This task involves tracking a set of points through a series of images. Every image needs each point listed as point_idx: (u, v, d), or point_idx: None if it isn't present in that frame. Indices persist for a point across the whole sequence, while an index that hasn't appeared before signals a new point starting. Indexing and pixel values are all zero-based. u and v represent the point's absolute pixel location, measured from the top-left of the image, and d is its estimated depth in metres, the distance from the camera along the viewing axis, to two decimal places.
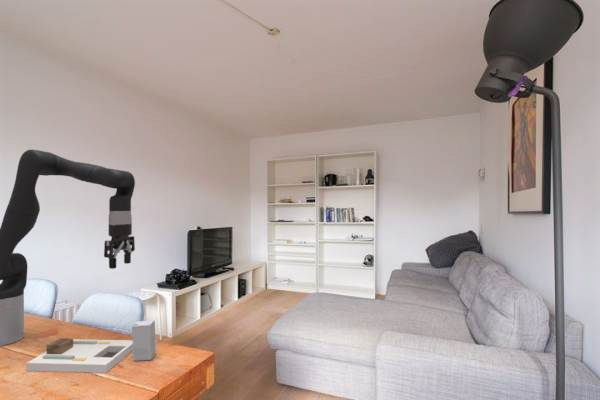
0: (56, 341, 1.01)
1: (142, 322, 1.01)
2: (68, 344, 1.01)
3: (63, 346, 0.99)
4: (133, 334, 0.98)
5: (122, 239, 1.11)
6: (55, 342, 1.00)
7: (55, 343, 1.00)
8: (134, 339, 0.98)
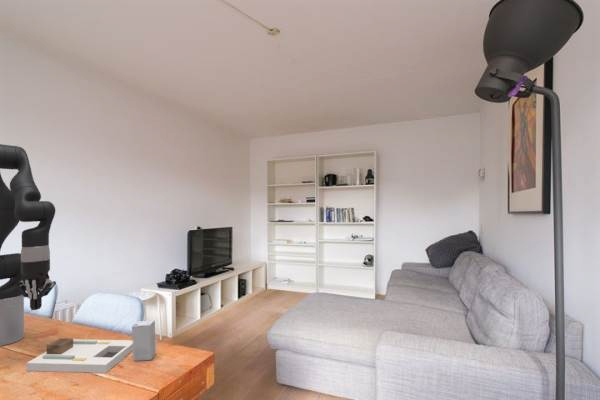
0: (56, 341, 1.01)
1: (142, 322, 1.01)
2: (68, 344, 1.01)
3: (63, 346, 0.99)
4: (133, 334, 0.98)
5: None
6: (55, 342, 1.00)
7: (55, 343, 1.00)
8: (134, 339, 0.98)
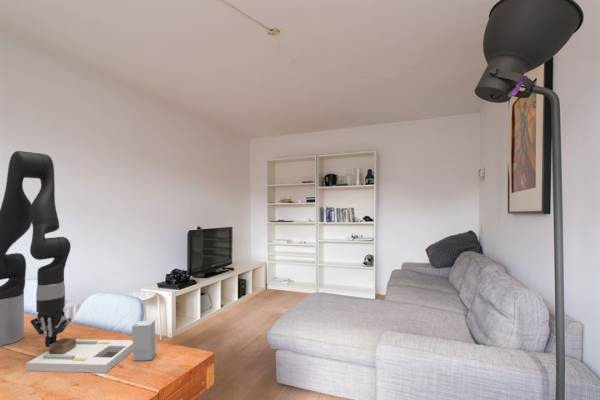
0: (59, 341, 1.01)
1: (142, 322, 1.01)
2: (70, 344, 1.01)
3: (65, 346, 0.99)
4: (133, 334, 0.98)
5: None
6: (58, 342, 1.00)
7: (58, 343, 1.00)
8: (134, 339, 0.98)
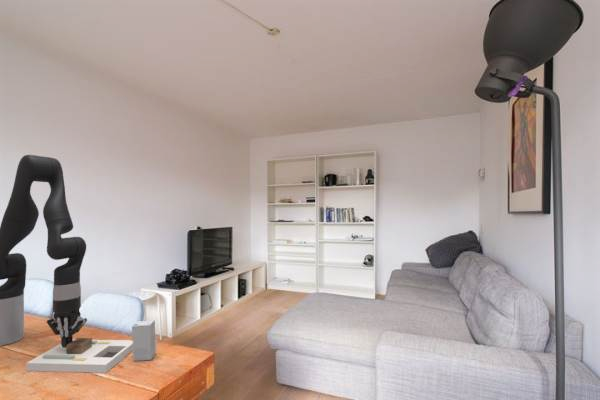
0: (75, 341, 1.01)
1: (142, 322, 1.01)
2: (87, 344, 1.02)
3: (83, 346, 0.99)
4: (133, 334, 0.98)
5: None
6: (74, 342, 1.00)
7: (75, 343, 1.00)
8: (134, 339, 0.98)
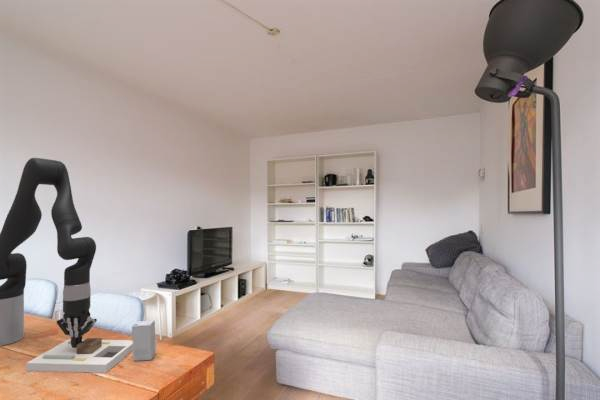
0: (85, 341, 1.01)
1: (142, 322, 1.01)
2: (97, 344, 1.02)
3: (93, 346, 1.00)
4: (133, 334, 0.98)
5: None
6: (84, 342, 1.00)
7: (85, 343, 1.00)
8: (134, 339, 0.98)
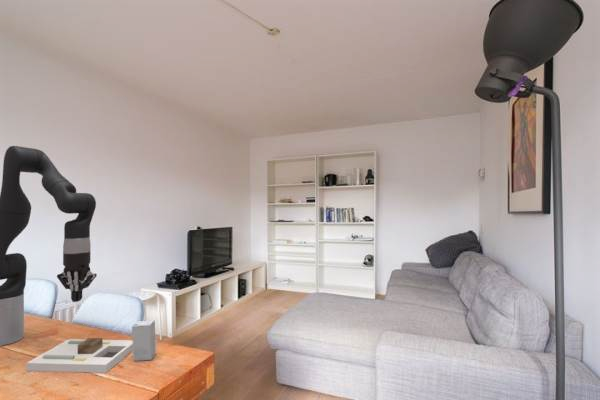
0: (86, 341, 1.01)
1: (142, 322, 1.01)
2: (98, 344, 1.02)
3: (94, 346, 1.00)
4: (133, 334, 0.98)
5: None
6: (85, 342, 1.00)
7: (86, 343, 1.00)
8: (134, 339, 0.98)
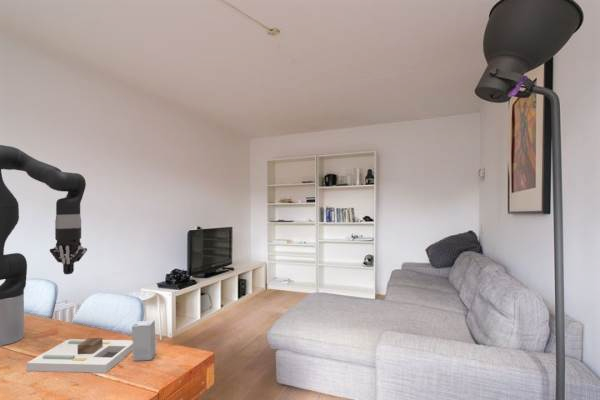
0: (86, 341, 1.01)
1: (142, 322, 1.01)
2: (98, 344, 1.02)
3: (94, 346, 1.00)
4: (133, 334, 0.98)
5: None
6: (85, 342, 1.00)
7: (86, 343, 1.00)
8: (134, 339, 0.98)
